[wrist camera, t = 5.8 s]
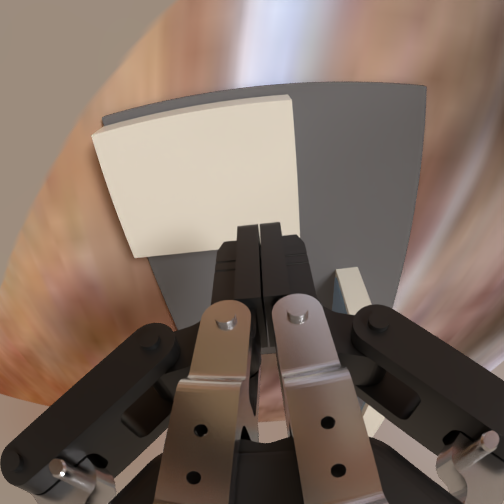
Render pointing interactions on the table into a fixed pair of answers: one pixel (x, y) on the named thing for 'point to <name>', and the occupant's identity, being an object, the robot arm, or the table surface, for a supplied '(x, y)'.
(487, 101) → the table surface
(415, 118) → the mat
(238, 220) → the tile
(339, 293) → the tile
